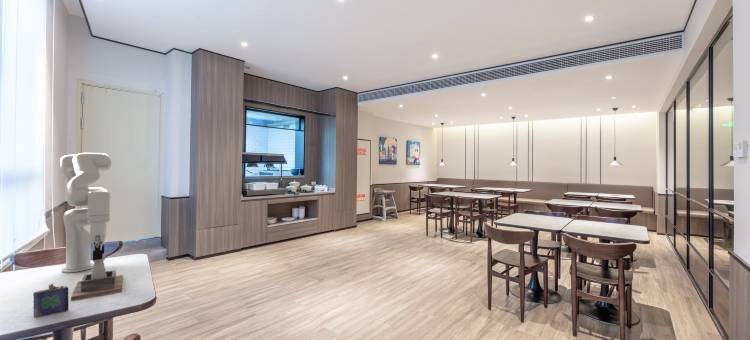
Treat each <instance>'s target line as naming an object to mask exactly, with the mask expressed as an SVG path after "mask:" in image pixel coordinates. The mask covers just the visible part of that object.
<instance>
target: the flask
mask: <svg viewBox="0 0 750 340" xmlns="http://www.w3.org/2000/svg"><path fill="white" fill-rule="evenodd" d="M47 287H48V288H47V289H42V290H36V291H34V292H33V318H40V316H41V317H44V316H45V315H46V316H50V315H54V314H55V315H56V314H58V313H59V314H60V313H64V312H68V311H69V307H70V306H69V287H68V286H67V285H66V286H65V285H61V286H55V285H54V283H50V284H48V286H47Z"/></svg>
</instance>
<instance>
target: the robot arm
mask: <svg viewBox="0 0 750 340" xmlns="http://www.w3.org/2000/svg"><path fill="white" fill-rule="evenodd" d="M59 164H60V169H61V171H62V173H63V175H64V177H65V180H66V184H65V185H66V202H67V204H68V206H69V207H70V206H71V207H78V208H72V209H68V210H67V211H65V212H64V213H63V216H62V217H63V223H64V229H65V230H64V231H65V266H64V267H63V268H62V269H61V272H62V273H77V272H78V273H79V272H83V271H88V270H90V269H93V266H94V263H91V247H92V246H93V250H92V259H93V260H100V259H102V258H103V255H105V243H106V237H107V222H110V219H111V218H110V217H111V216H110V214H111V213H110V207H111V205H110V203H111V202H110V201H111V192H110V191H109V190H107V189H106V188H103V187H100V186H99V187H97V186H96V187H95V186H93V187H90V186H89V185H91V184H94V183H97V181H98V180H99V179H100V178H101V173H100V172H104V171H108V170H110V168H111V167H112V159H111V157H110V155H108V154H106V153H101V152H81V153H77V154H67V155H63V156H62V157H61V158H60V160H59ZM79 207H80V208H79ZM83 207H84V208H83ZM85 227H89V231H88V230H87V229H85ZM93 260H92V261H93Z"/></svg>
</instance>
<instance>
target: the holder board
mask: <svg viewBox="0 0 750 340" xmlns="http://www.w3.org/2000/svg"><path fill="white" fill-rule="evenodd" d="M116 273H117V272H116V269H115V270H109V271H108V270H107V271H106V275H107V277H105V278H99V279H92V280H91V275H92V273H87V274H83V277H82V279H81V280H78V281H77V283H76V286H75V287H74V290H73V292H72V294H71V296H70V301H71V302H72V301H76V300H82V299H87V298H93V297H100V296H104V295H106V296H107V295H110V294H115V293H117V294H118V293H121V292H122V287H123V279H124V275H123V274H119V275H118V274H116Z"/></svg>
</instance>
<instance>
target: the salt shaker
mask: <svg viewBox="0 0 750 340" xmlns="http://www.w3.org/2000/svg"><path fill="white" fill-rule="evenodd" d="M91 259H92V262H93V264H94V266H93V268H92V272H91V274H92V275H91V280H92V279H99V278H105V277H107V275H106V272H107V271H106V267H105V263H104V261H105V260H106V256H105V254H103V258H102V259H100V260H93V258H91Z"/></svg>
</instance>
